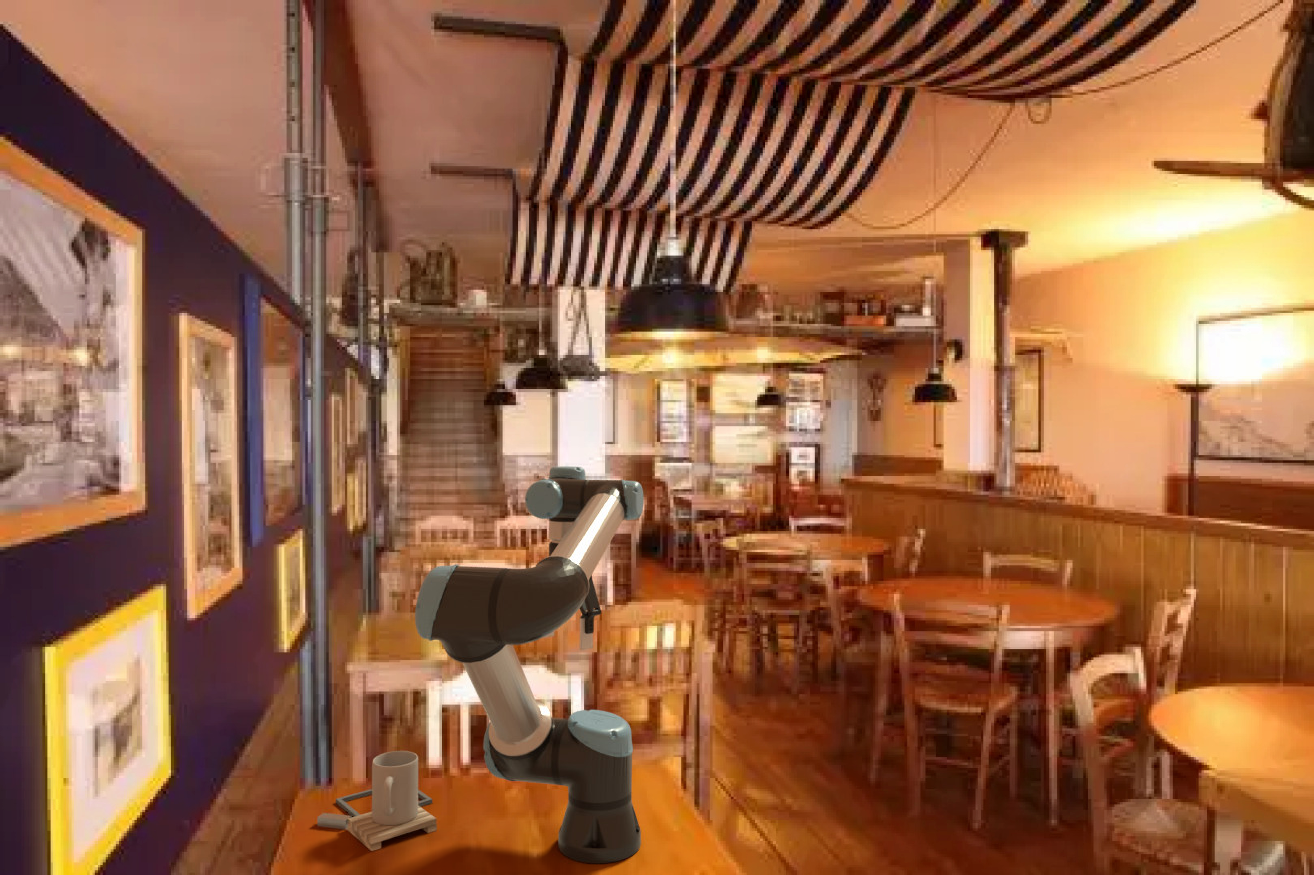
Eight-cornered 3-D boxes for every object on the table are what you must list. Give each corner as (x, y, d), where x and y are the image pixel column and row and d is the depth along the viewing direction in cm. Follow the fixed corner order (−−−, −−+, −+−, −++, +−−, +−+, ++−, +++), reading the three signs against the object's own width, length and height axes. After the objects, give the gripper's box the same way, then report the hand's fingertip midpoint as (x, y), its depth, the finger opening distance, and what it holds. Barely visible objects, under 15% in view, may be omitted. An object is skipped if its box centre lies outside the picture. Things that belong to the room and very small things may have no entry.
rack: (436, 830, 168) (436, 818, 168) (371, 851, 159) (371, 838, 159) (410, 810, 176) (410, 799, 176) (347, 829, 168) (347, 818, 168)
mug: (377, 806, 173) (377, 750, 173) (422, 805, 173) (422, 750, 173) (362, 835, 161) (362, 775, 161) (409, 833, 161) (409, 774, 161)
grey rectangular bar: (351, 826, 170) (351, 815, 170) (345, 830, 168) (345, 820, 168) (323, 823, 171) (323, 812, 171) (317, 827, 169) (317, 817, 169)
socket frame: (432, 803, 180) (432, 799, 180) (361, 824, 170) (361, 820, 170) (404, 783, 190) (404, 780, 190) (335, 802, 180) (335, 798, 180)
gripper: (618, 545, 177) (618, 651, 177) (548, 533, 196) (547, 629, 196) (588, 548, 172) (588, 657, 172) (519, 536, 191) (518, 634, 191)
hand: (566, 642), depth 184 cm, fingers open, 13 cm apart
